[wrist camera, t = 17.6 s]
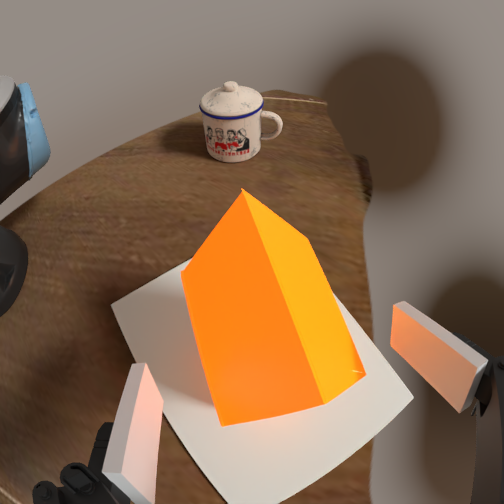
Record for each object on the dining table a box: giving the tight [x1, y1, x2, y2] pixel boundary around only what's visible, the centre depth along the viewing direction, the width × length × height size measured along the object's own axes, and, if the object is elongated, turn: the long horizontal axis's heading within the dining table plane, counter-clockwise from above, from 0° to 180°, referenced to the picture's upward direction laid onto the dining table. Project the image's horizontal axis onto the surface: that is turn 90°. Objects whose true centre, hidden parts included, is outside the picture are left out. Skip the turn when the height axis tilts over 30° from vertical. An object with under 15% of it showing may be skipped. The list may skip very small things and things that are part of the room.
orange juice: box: [181, 188, 366, 427], centre depth 18 cm, size 8×9×20 cm
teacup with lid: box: [199, 81, 282, 163], centre depth 38 cm, size 12×9×12 cm
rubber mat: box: [111, 258, 414, 504], centre depth 27 cm, size 28×22×1 cm
